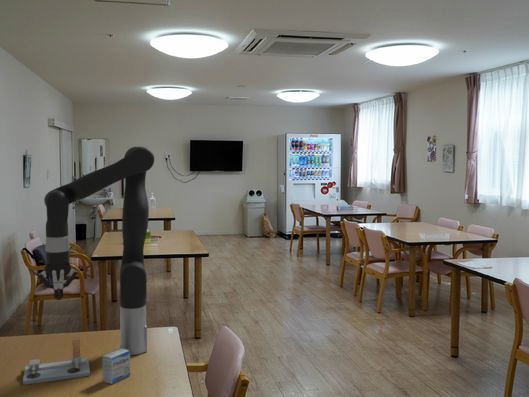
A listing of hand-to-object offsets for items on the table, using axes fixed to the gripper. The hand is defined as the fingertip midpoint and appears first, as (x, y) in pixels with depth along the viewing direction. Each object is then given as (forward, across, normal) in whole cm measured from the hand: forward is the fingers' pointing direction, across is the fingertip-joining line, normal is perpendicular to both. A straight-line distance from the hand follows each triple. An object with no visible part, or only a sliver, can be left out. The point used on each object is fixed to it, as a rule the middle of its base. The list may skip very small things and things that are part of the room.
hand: (58, 299), depth 175 cm
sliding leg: (+21, -5, +7) cm, 23 cm away
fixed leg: (+21, +8, +7) cm, 24 cm away
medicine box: (+23, -17, +18) cm, 34 cm away
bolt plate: (+23, +1, +7) cm, 24 cm away
